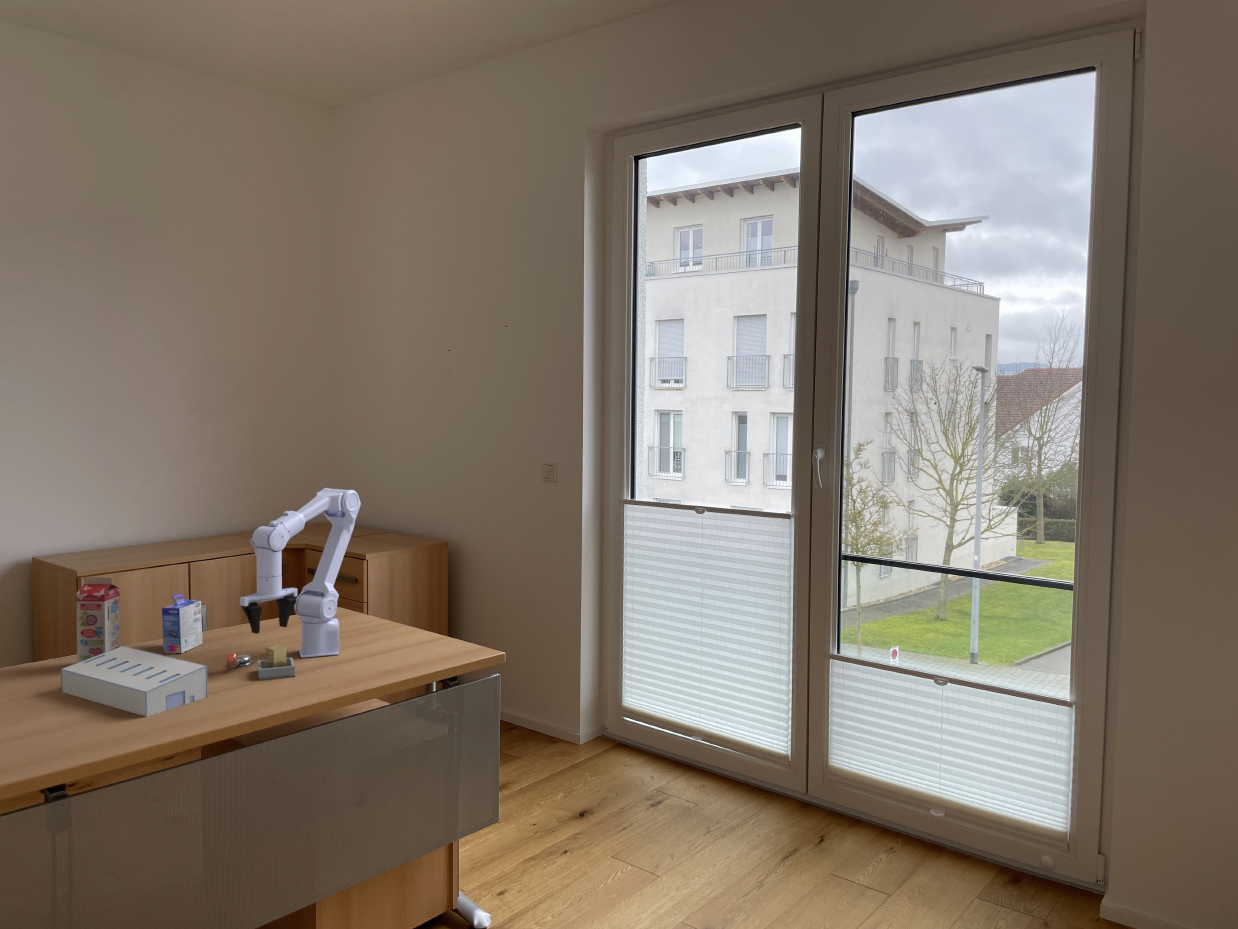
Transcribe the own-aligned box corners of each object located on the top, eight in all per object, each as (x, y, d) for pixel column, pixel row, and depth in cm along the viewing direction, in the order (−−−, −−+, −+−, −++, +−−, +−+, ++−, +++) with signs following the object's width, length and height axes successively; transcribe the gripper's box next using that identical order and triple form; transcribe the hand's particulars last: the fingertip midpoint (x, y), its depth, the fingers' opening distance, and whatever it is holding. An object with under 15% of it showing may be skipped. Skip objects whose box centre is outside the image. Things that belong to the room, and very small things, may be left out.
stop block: (278, 668, 213) (278, 644, 212) (286, 671, 211) (286, 647, 210) (265, 671, 210) (265, 647, 209) (273, 674, 208) (273, 650, 207)
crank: (236, 658, 219) (236, 644, 219) (252, 658, 219) (252, 644, 219) (221, 669, 210) (221, 654, 210) (237, 669, 210) (237, 655, 210)
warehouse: (61, 694, 193) (60, 660, 193) (123, 677, 206) (123, 645, 206) (146, 718, 180) (145, 683, 179) (207, 699, 192) (207, 665, 192)
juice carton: (93, 661, 216) (91, 574, 215) (120, 662, 216) (119, 575, 215) (77, 669, 209) (76, 580, 208) (105, 670, 210) (104, 580, 208)
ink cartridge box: (184, 643, 235) (183, 590, 234) (203, 644, 234) (203, 591, 233) (161, 653, 225) (160, 598, 224) (181, 654, 224) (181, 599, 223)
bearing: (252, 660, 220) (252, 658, 220) (253, 666, 216) (253, 664, 216) (230, 662, 218) (230, 660, 218) (230, 668, 214) (230, 666, 214)
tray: (292, 667, 215) (292, 657, 215) (294, 676, 208) (294, 666, 208) (257, 670, 212) (257, 660, 212) (258, 680, 205) (258, 669, 205)
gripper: (285, 568, 221) (285, 621, 221) (232, 577, 209) (232, 632, 210) (302, 572, 217) (302, 625, 218) (249, 581, 205) (249, 637, 206)
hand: (269, 629), depth 213 cm, fingers open, 7 cm apart
